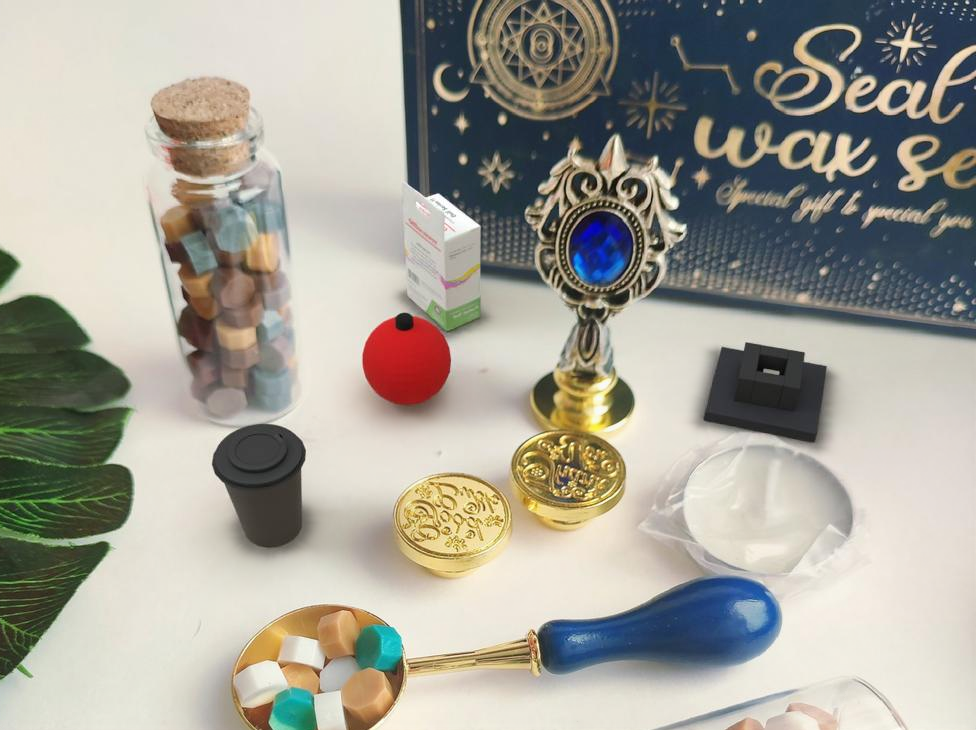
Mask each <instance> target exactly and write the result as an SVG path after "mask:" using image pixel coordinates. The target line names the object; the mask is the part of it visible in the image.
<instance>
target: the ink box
mask: <svg viewBox="0 0 976 730" xmlns="http://www.w3.org/2000/svg"><path fill="white" fill-rule="evenodd" d="M401 188H402V189H401V190H402V192H401V193H402V217H403V219H402V220H403V222H402V223H403V238H404V254H405V257H404V258H405V275H406V292H407V297H408V298H409V299H410V300H411V301H413V303H415V305H417V306H418V307H419V308H420V309H421V310H422V311H424V312H425V314H426V315H428V316H429V317H430V318H431V319H432V320H433V321H435V323H437V324H438V325H439V326H440V327H441V329H443V330H445V331H446V332H450V331H451V330H454V329H456V328H458V327H461V326H463V325H466V324H467V323H469V322H472V321H474V320H476V319H479V318H481V315H482V314H481V236H482V235H481V227H482V226H481V225H480V224H479V223H478V222H476V221H475V220H473V219H472V218H471V217H469V216H468V215H467V214H466V213H464V212H463V211H462V210H460V209H459V208H458V207H457V206H455V205H454V203H453V204H452V202H450V201H449V200H448V199H446V198H445V197H443V195H441V194H440V193H435V194H432V195H429V196H426V197H425V196H424V195H423V194H421V193H420V192H419V191H418V190H416V189H415V188H414V187H412V186H411V185H409V184H408V183H407V182H406V181H402V185H401Z"/></svg>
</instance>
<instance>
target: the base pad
mask: <svg viewBox="0 0 976 730" xmlns="http://www.w3.org/2000/svg"><path fill="white" fill-rule="evenodd" d="M743 352H744V350H741V349H736V348H732V347H726V346H721V348H720V352H719V356H718V360H717V364H716V368H715V372H714V375H713V378H712V379H713V380H712V384H711V387H710V390H709V395H708V399H707V402H706V406H705V411H704V415H703V421H705V422H711V423H717V424H719V425H720V424H721V425H725V426H729V427H736V428H740V429H745V430H751V431H755V432H759V433H765V434H769V435H776V436H780V437H786V438H791V439H795V440H800V441H806V442H811V443H815V442H816V438H817V436H818V431H819V429H818V428H819V423H820V416H821V409H822V402H823V395H824V388H825V381H826V374H827V368H828V367H827V365H823V364H818V363H812V362H806V361H804V364H803V372H802V379H801V387H800V391H799V395H798V398H797V402H796V405H795V409H794V411H789V410H784V409H778V408H772V407H767V406H761V405H756V404H750V403H745V402H739V401H734V395H735V390H736V385H737V380H738V375H739V370H740V365H741V360H742V356H743ZM763 372H765V373H771V374H777V375H779V373H780V372H779V371H774V370H769V369H764V370H763Z"/></svg>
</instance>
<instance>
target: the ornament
mask: <svg viewBox="0 0 976 730" xmlns="http://www.w3.org/2000/svg"><path fill="white" fill-rule="evenodd" d="M450 348H451V347H450V346H449V344H448V340H447V339H446V337H445V335H444V334H443V333H442V331H441V330H440V329H439V328H438V327H437V326H436V325H434V324H433V323H432V322H430V321H429V320H427V319H425V318H422V317H419V316H414V315H412V314H411V313H408V312H400V313H398V314H397V315H396V316H394V317H391V318H388V319H386V320H384V321H382V322H381V323H379V325H377V326H376V327H375V328H374V329H373V330H372V331H371V333H369V336H368V338H367V339H366V341H365V343H364V347H363V350H362V357H361V358H362V360H361V362H362V370H363V374H364V376H365V379H366V382H368V385H369V386H370V387H371V389H372V390H373V391H374V392H375V393H376V394H377V395H378V396H379V397H380V398H382V399H383V400H386V401H388V402H389V403H392V404H395V405H400V406H414V405H419V404H422V403H425V402H427V401H428V400H430V399H432V398H433V397H435V396H436V395H437V394H438V393H439V392H440V391H441V390H442V388H443V387H444V386H445V384H446V382H447V380H448V378H449V375H450V373H451V367H452V356H451V349H450Z"/></svg>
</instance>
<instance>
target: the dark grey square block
mask: <svg viewBox="0 0 976 730" xmlns="http://www.w3.org/2000/svg"><path fill="white" fill-rule="evenodd" d="M743 351H744V352H743V356H742V360H741V365H740V370H739V375H738V380H737V385H736V390H735V395H734V401H739V402H745V403H750V404H756V405H761V406H767V407H772V408H778V409H784V410H789V411H794V409H795V405H796V402H797V398H798V395H799V391H800V387H801V379H802V372H803V364H804V362H805V356H806V352H805V351H800V350H794V349H788V348H782V347H776V346H771V345H764V344H759V343H753V342H747V341H745V343H744V347H743ZM764 369H769V370H774V371H779V372H780V373H779V375H777V374H771V373H765V372H763V370H764Z"/></svg>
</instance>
